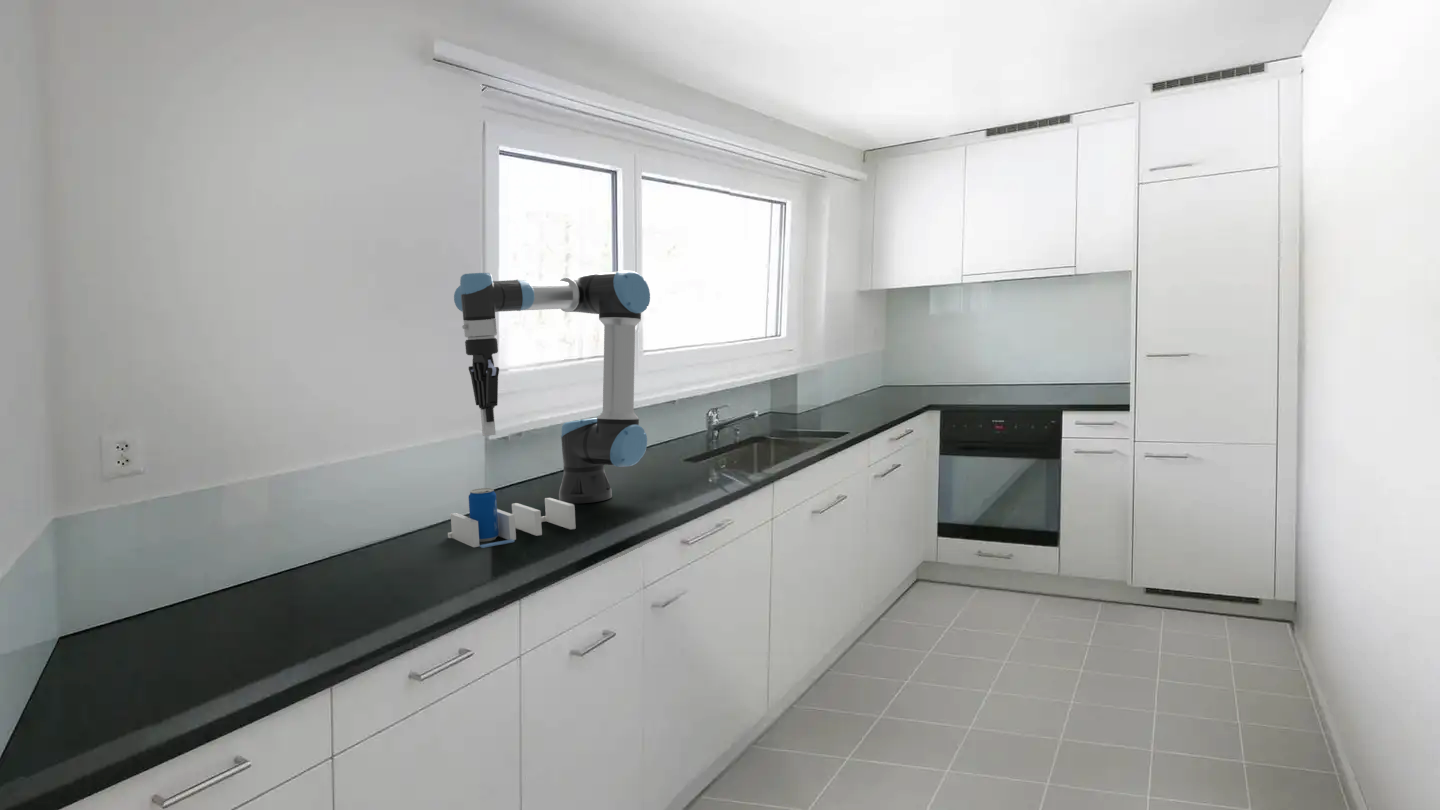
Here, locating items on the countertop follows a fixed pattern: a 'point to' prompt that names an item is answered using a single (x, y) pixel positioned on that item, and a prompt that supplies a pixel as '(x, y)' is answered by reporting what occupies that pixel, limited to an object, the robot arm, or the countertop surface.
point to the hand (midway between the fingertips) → (489, 435)
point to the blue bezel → (496, 543)
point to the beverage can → (484, 512)
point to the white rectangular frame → (515, 521)
